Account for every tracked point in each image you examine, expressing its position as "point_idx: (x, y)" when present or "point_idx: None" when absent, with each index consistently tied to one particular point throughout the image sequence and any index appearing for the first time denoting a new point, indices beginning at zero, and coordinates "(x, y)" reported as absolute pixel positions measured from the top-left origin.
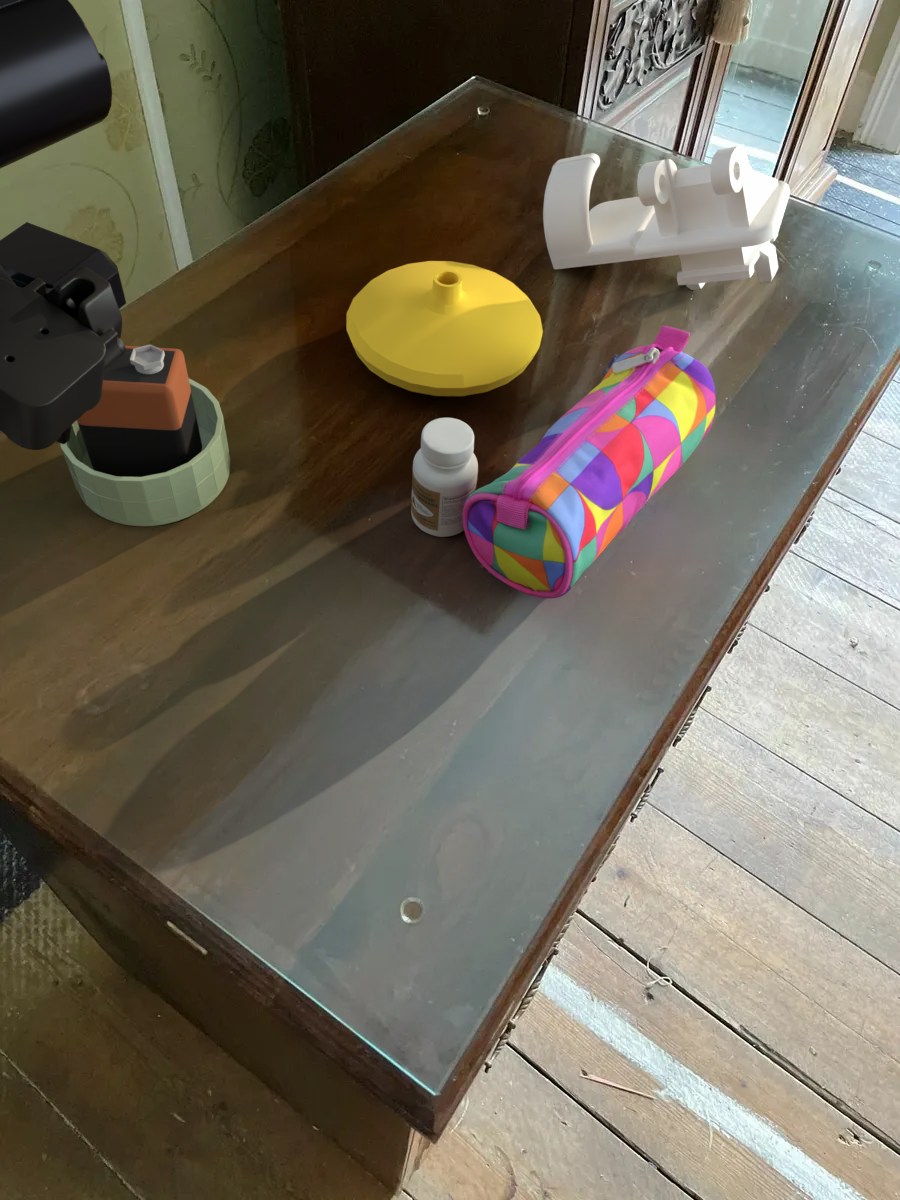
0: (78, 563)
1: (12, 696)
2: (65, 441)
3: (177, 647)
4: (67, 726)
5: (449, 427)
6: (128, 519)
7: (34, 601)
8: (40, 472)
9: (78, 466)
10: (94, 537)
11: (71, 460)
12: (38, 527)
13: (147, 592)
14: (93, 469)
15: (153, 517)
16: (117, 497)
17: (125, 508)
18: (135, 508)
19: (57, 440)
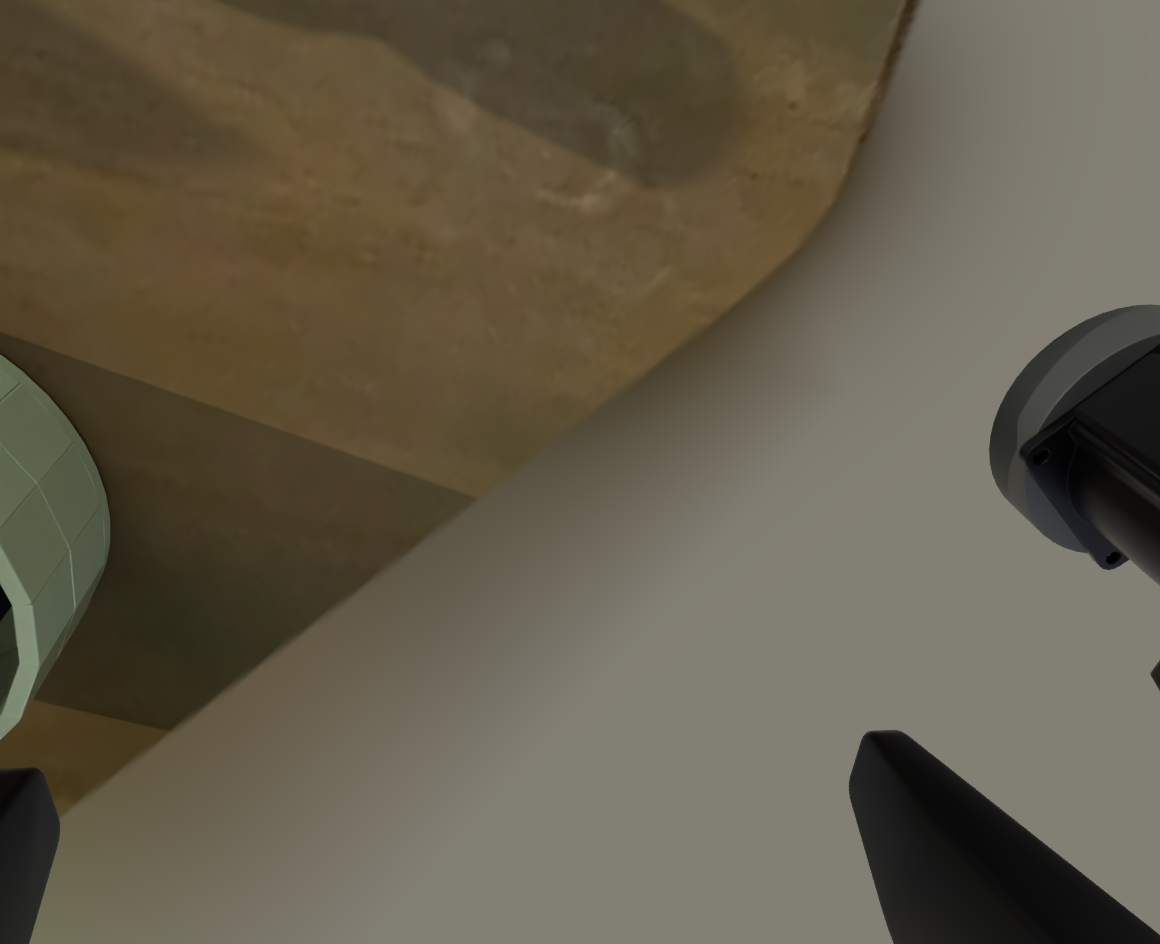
0: (268, 462)
1: (668, 347)
2: (21, 778)
3: (336, 40)
4: (691, 173)
5: None
6: (66, 441)
7: (422, 474)
8: (107, 697)
9: (36, 646)
10: (175, 481)
11: (34, 673)
12: (241, 601)
13: (229, 248)
14: (5, 613)
15: (7, 386)
16: (35, 499)
17: (46, 463)
18: (24, 440)
19: (46, 804)
